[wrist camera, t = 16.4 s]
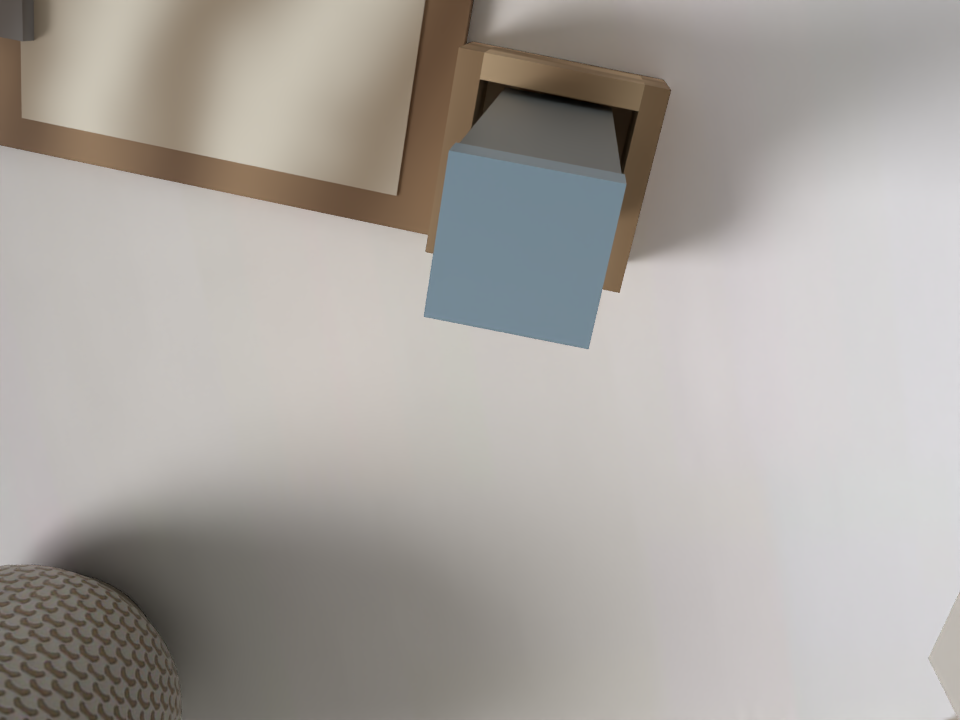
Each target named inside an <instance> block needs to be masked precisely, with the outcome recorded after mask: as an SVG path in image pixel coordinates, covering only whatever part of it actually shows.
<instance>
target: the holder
mask: <svg viewBox="0 0 960 720" xmlns="http://www.w3.org/2000/svg"><path fill="white" fill-rule="evenodd" d="M505 87H507V88H512V89H517V90H523V91H528V92H533V93H539V94H544V95H550V96H555V97H560V98H566V99H571V100H576V101H582V102H587V103H593V104H598V105H603V106H609V107H612V113H613V120H614V127H615V133H616V140H617V146H618V153H619V160H620V166H621V173H622V174H625V178H626V189H625V193H624V197H623V202H622V206H621V210H620V215H619V219H618V223H617V228H616V232H615V236H614V241H613V245H612V249H611V254H610V258H609V262H608V267H607V271H606V275H605V280H604V284H603V288H602V289H604V290H609V291H613V292H618V293H620V289H621V285H622V281H623V277H624V273H625V269H626V265H627V261H628V257H629V253H630V249H631V246H632V242H633V238H634V234H635V230H636V226H637V222H638V218H639V214H640V210H641V206H642V202H643V198H644V194H645V190H646V187H647V183H648V179H649V175H650V171H651V167H652V163H653V159H654V155H655V151H656V147H657V143H658V139H659V135H660V132H661V128H662V124H663V120H664V116H665V112H666V108H667V104H668V100H669V96H670V92H671V89H670V88H669V87H668V85H667V84H666V82H665V81H664V80H662V79H657V78H652V77H647V76H642V75H637V74H632V73H627V72H622V71H617V70H612V69H607V68H602V67H597V66H592V65H587V64H582V63H577V62H572V61H567V60H562V59H557V58H552V57H547V56H542V55H537V54H532V53H527V52H523V51H518V50H513V49H508V48H503V47H498V46H493V45H488V44H483V43H478V42H470V43H468V44H466V45H463V46H461V47H459V50H458V56H457V62H456V68H455V74H454V80H453V86H452V92H451V98H450V105H449V111H448V117H447V123H446V129H445V135H444V141H443V147H442V153H441V160H440V166H439V172H438V178H437V184H436V190H435V196H434V202H433V208H432V215H431V221H430V227H429V233H428V239H427V245H426V251H425V252H428V253H433V252H434V246H435V239H436V232H437V226H438V219H439V213H440V206H441V199H442V193H443V186H444V180H445V173H446V166H447V160H448V153H449V150H450V149H451V147H452V146H453V145H454V144H455V143H460V142H461V141H462V139H463V138H464V137H465V136H466V134H467V133H468V132H469V131H470V130H471V128H472V127H473V126H474V125H475V124H476V122H477V121H478V120H479V119H480V117H481V116H482V115H483V114H484V113H485V111H486V110H487V109H488V108H489V107H490V105H491V104H492V103H493V102H494V100H495V99H496V98H497V97H498V96H499V94H500V93H501V92H502V91H503V90H504V88H505Z"/></svg>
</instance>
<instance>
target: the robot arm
mask: <svg viewBox="0 0 960 720" xmlns="http://www.w3.org/2000/svg"><path fill="white" fill-rule="evenodd" d="M928 659H929V661H930V663H931V665H932V667H933V669H934V671H935V673H936V675H937V677H938V679H939V681H940V683H941V685H942V687H943V689H944V691H945V693H946V695H947V697H948V699H949V701H950V703H951V705H952V707H953V709H954V711H955V713H956V715H957V717H958V719H959V720H960V592H959V594H958V596H957V599H956V601H955V603H954V605H953V607H952V609H951V611H950V613H949V616H948V618H947V620H946V622H945V624H944V626H943V628H942V630H941V633H940V635H939V637H938V639H937V641H936V643H935V645H934V647H933V649H932V652H931V654H930V656H929V658H928Z"/></svg>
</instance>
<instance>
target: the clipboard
mask: <svg viewBox="0 0 960 720" xmlns="http://www.w3.org/2000/svg"><path fill="white" fill-rule="evenodd" d="M473 1H474V0H0V145H2V146H7V147H11V148H16V149H21V150H26V151H30V152H35V153H40V154H45V155H50V156H54V157H59V158H64V159H69V160H73V161H78V162H83V163H88V164H92V165H97V166H102V167H107V168H112V169H116V170H121V171H126V172H131V173H135V174H140V175H145V176H150V177H154V178H159V179H164V180H169V181H174V182H178V183H183V184H188V185H193V186H197V187H202V188H207V189H212V190H217V191H221V192H226V193H231V194H236V195H240V196H245V197H250V198H255V199H259V200H264V201H269V202H274V203H279V204H283V205H288V206H293V207H298V208H302V209H307V210H312V211H317V212H321V213H326V214H331V215H336V216H341V217H345V218H350V219H355V220H360V221H364V222H369V223H374V224H379V225H384V226H388V227H393V228H398V229H403V230H407V231H412V232H417V233H422V234H426V235H428V233H429V227H430V221H431V215H432V208H433V202H434V196H435V190H436V184H437V178H438V172H439V166H440V160H441V153H442V147H443V141H444V135H445V129H446V123H447V117H448V111H449V105H450V98H451V92H452V86H453V80H454V74H455V68H456V62H457V56H458V50H459V47H461V46H463V45H466V43H467V37H468V31H469V25H470V19H471V13H472V7H473Z"/></svg>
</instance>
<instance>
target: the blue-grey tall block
mask: <svg viewBox="0 0 960 720" xmlns="http://www.w3.org/2000/svg"><path fill="white" fill-rule="evenodd" d="M625 189H626V178H625V174H622V173H621V166H620V160H619V153H618V146H617V140H616V133H615V127H614V120H613V113H612V107H609V106H603V105H598V104H593V103H587V102H582V101H576V100H571V99H566V98H560V97H555V96H550V95H544V94H539V93H533V92H528V91H523V90H517V89H512V88H507V87H505V88H504V90H503V91H502V92H501V93H500V94H499V96H498V97H497V98H496V99H495V100H494V102H493V103H492V104H491V105H490V107H489V108H488V109H487V110H486V111H485V113H484V114H483V115H482V116H481V117H480V119H479V120H478V121H477V122H476V124H475V125H474V126H473V127H472V128H471V130H470V131H469V132H468V133H467V134H466V136H465V137H464V138H463V139H462V141H461V142H460V143H455V144H454V145H453V146H452V147H451V149H450V150H449V153H448V160H447V166H446V173H445V180H444V186H443V193H442V199H441V206H440V213H439V219H438V226H437V232H436V239H435V246H434V252H433V259H432V266H431V272H430V279H429V285H428V292H427V299H426V305H425V312H424V317H428V318H433V319H438V320H443V321H448V322H453V323H458V324H463V325H468V326H473V327H478V328H484V329H489V330H494V331H499V332H504V333H509V334H514V335H519V336H524V337H529V338H534V339H539V340H544V341H550V342H555V343H560V344H565V345H570V346H575V347H580V348H585V349H589V345H590V340H591V336H592V332H593V327H594V323H595V319H596V314H597V310H598V306H599V301H600V297H601V293H602V288H603V284H604V280H605V275H606V271H607V267H608V262H609V258H610V254H611V249H612V245H613V241H614V236H615V232H616V228H617V223H618V219H619V215H620V210H621V206H622V202H623V197H624V193H625Z"/></svg>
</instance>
